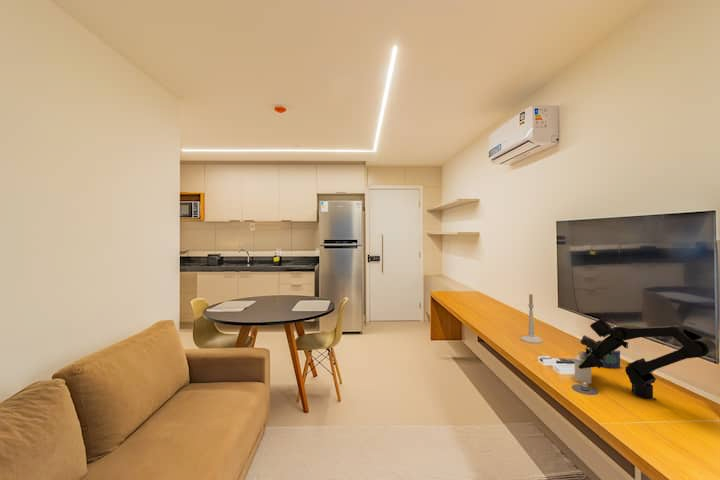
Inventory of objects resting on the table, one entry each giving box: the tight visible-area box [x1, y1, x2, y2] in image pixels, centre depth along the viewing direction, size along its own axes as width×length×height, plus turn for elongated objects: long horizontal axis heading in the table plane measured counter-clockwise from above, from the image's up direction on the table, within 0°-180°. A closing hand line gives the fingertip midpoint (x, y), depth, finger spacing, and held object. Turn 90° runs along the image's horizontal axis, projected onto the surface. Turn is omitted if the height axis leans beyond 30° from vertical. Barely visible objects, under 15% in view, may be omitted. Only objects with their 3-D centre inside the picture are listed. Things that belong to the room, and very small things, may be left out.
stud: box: [581, 381, 589, 391], centre depth 150 cm, size 3×3×3 cm
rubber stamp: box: [574, 350, 592, 385], centre depth 160 cm, size 6×6×13 cm
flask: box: [601, 349, 621, 369], centre depth 175 cm, size 9×3×11 cm, turn 78°
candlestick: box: [520, 294, 544, 344], centre depth 220 cm, size 13×13×30 cm
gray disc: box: [570, 383, 600, 396], centre depth 150 cm, size 10×10×1 cm
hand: (579, 365), depth 160 cm, fingers closed on rubber stamp, 6 cm apart
